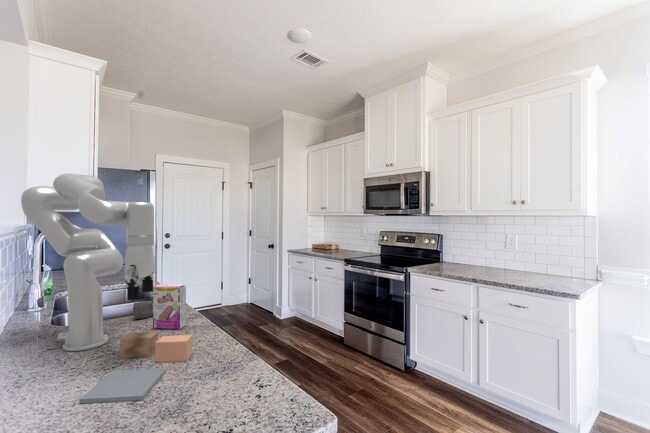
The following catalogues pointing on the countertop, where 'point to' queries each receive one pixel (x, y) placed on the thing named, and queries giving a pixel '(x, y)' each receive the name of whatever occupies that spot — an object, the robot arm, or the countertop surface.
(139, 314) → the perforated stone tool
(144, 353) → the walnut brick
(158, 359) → the terracotta brick
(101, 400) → the baseplate
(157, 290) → the candy bar box
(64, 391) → the countertop surface
